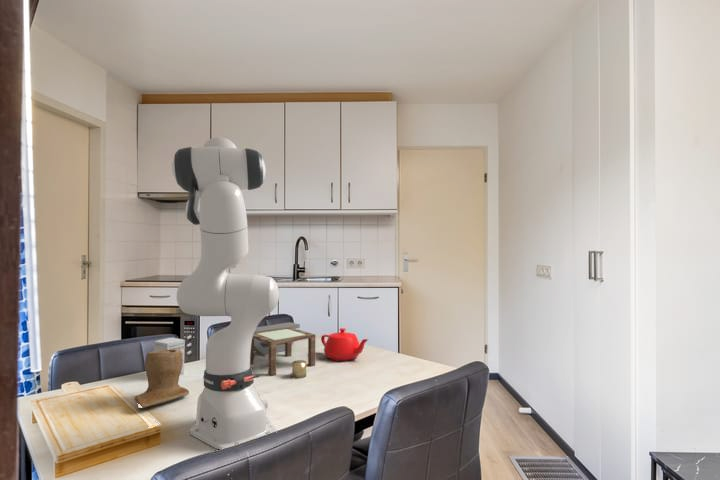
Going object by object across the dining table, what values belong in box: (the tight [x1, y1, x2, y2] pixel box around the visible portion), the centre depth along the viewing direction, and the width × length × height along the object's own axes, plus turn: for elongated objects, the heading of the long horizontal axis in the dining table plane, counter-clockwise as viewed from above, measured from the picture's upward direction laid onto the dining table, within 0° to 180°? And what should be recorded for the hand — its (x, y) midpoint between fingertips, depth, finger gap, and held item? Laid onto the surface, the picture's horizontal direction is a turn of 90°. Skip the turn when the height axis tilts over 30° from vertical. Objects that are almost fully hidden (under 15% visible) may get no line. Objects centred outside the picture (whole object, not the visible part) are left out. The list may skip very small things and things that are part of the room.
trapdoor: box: [257, 329, 306, 340], centre depth 152 cm, size 14×14×1 cm
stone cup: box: [134, 349, 190, 409], centre depth 115 cm, size 15×12×15 cm
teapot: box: [320, 327, 369, 362], centre depth 162 cm, size 25×16×12 cm, turn 54°
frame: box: [250, 327, 316, 377], centre depth 152 cm, size 19×19×12 cm
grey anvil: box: [254, 321, 301, 356], centre depth 172 cm, size 25×8×11 cm, turn 135°
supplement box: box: [153, 337, 186, 376], centre depth 138 cm, size 7×7×13 cm
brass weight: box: [291, 359, 307, 379], centre depth 138 cm, size 5×5×5 cm
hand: (226, 272), depth 142 cm, fingers open, 8 cm apart
